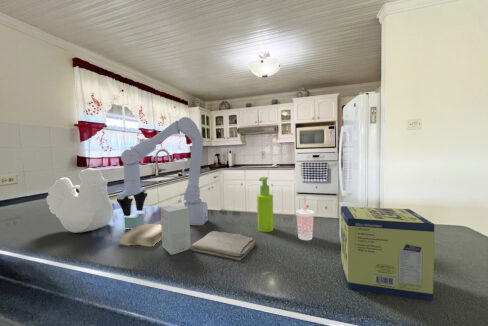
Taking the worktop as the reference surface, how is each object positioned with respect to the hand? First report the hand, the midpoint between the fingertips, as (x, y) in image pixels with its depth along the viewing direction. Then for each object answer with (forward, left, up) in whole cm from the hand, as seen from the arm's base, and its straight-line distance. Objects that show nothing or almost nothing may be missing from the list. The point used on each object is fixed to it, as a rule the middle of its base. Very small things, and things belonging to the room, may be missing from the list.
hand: (133, 213), depth 87 cm
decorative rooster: (+21, +3, -6) cm, 22 cm away
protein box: (-81, +27, -6) cm, 85 cm away
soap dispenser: (-53, -2, -6) cm, 53 cm away
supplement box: (-81, +8, -6) cm, 82 cm away
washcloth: (-41, +14, -7) cm, 44 cm away
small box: (-26, +16, -6) cm, 31 cm away
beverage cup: (-67, +4, -6) cm, 67 cm away
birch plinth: (-12, +10, -6) cm, 17 cm away
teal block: (0, 0, -6) cm, 6 cm away
